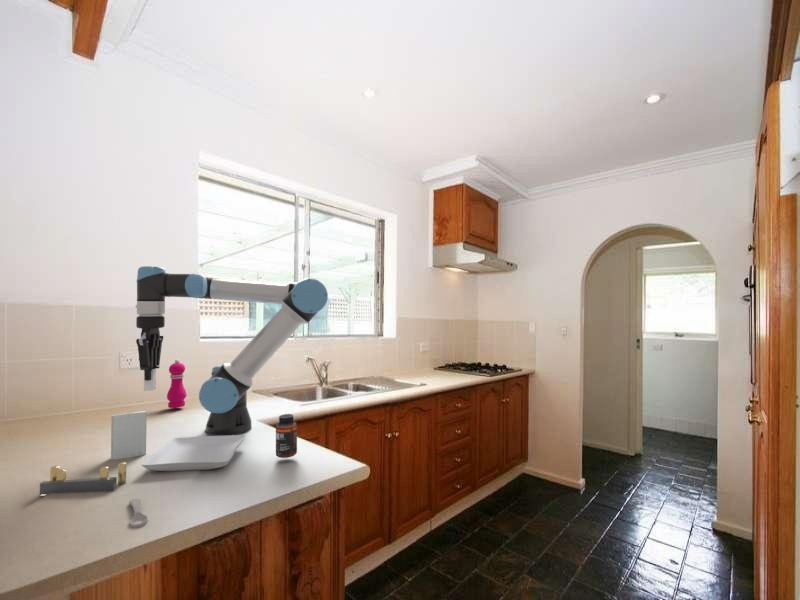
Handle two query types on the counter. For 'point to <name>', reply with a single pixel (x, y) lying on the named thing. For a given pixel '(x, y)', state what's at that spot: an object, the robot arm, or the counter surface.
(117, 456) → the external hard drive
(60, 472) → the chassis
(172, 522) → the counter surface
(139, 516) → the spoon
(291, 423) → the supplement bottle
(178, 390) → the pepper mill
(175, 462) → the salad plate
